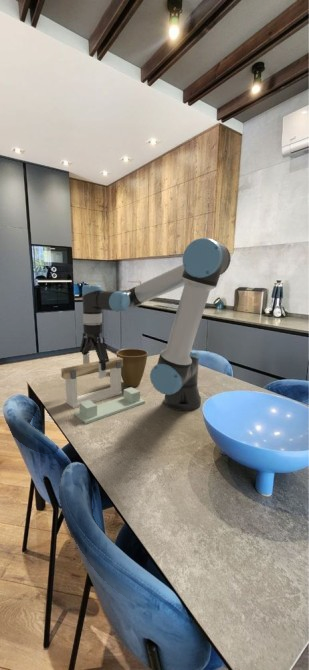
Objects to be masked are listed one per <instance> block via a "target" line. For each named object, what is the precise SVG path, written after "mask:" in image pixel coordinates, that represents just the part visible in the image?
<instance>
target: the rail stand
mask: <svg viewBox="0 0 309 670" xmlns="http://www.w3.org/2000/svg"><path fill="white" fill-rule="evenodd" d="M109 378H110V379H109V383H110V384H109V385H110V386H109V387H107V388H102V389H100V390H96V391H93V392H88V393H85V394H82V395H78V389H77V388H78V383H77V377H76V371H71V378H70V379H66V380H65V393H66V399H65V403H66V404H67V405H68V406H70V407H71V408H72V409H76V408H80V405H79V403H80V402H83V401H87V400H90V401H92V402H93V403H95V402H99V401H103V400H106V399H109V398H112V397H115V396H120V395H122V394H123V391H122V377H121V361H116V368H113V369H109Z"/></svg>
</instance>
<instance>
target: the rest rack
mask: <svg viewBox="0 0 309 670" xmlns="http://www.w3.org/2000/svg"><path fill="white" fill-rule="evenodd" d="M144 404H146V400H145V399H143V398H141V391H140V390H138V389H135V388H134V387H127V388H125V389H123V396H121V397H118V398H115V399H112V400H109V401H106V402H103V403H99V404H96V403H95V402H92V401H90V400H87V401H83V402H80V403H79V405H80V407H79V410H77V411H74V413H73V414H74V416H75V417H77V419H79V420H80V421H81V422H83V424H85V425H87V424H90V423H94V422H96V421H99V420H101V419H104V418H107V417H109V416H113V415H115V414H117V413H122V412H124V411H127V410H129V409H132V408H135V407H138V406H141V405H144Z"/></svg>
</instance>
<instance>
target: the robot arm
mask: <svg viewBox="0 0 309 670" xmlns="http://www.w3.org/2000/svg"><path fill="white" fill-rule="evenodd" d="M231 257H232V256H231V253H230V250H229V249H228V247H227V246H226V245H225V244H223V243H222V242H218V241H217V240H216V239H212V238H207V237H201V238H197V239H195V240H193V241H191V242H190V243H189V244H188V245H187V246H186V248H185V249H184V251H183V253H182V264H181V265H178V266H176V267H174V268H172V269H170V270H168V271H166V272H164V273H161V274H160V275H158V276H155V277H152V278H151V279H148V280H147V281H144V282H142V283H140V284H138V285H136V286H134V287H132V288H129V289H125V290H103V289H102V286H101V285H97V284H86V285H83V286H82V295H81V297H82V309H83V310H82V323H83V325H82V327H83V328H82V329H83V333H82V339H81V344H80V347H79V352H80V353H81V354H82V364H87V363H90V350H91V349H92V348H93V349H94V351H95V353H96V356H97V358H98V361H99V372H98V379H103V378H106V377H107V376H106V375H107V374H106V372H107V370H106V362H109V359H110V358H109V354H108V350H107V347H106V343H105V337H103V336H102V337H101V335H100V334H102V333H103V324H102V322H103V311H109V312H110V311H112V312H116V313H117V312H126V311H127V310H128V309H134V308H137V307H139V306H141V305H142V304H144V303H146V302H148V301H151V300H154V299H156V298H158V297H160V296H163V295H166V294H167V293H170V292H173V291H175V290H177V289H180V288H181V287H183V289H182V291H181V296H180V299H179V302H178V306H177V309H176V313H175V316H174V320H173V324H172V326H171V330H170V334H169V337H168V341H167V344H166V347H165V349H162V350H161V351H160V354H159V357H158V361H157V364H156V365H154V366H153V367H152V369H151V370H150V373H149V378H150V382H151V384H152V386H153V388H154V390H156V391H157V392H159V393H160V394H163V395H164V400H163V401H164V404H165V406H167V407H168V408H170V409H173V410H177V411H193V410H195V409H196V410H197V409H198V408H200V406H201V405H202V398H201V395H200V391H199V387H198V380H199V379H198V378H199V376H198V375H199V360H200V358H199V351H198V350H196V349H192V348H193V345H194V344H195V343H194V342H195V339H196V336H197V333H198V329H199V326H200V323H201V320H202V317H203V314H204V311H205V307H206V305H207V301H208V298H209V295H210V292H211V291H212V290H213V289H215V288H217V286H218V282H219V280H220V276H222V275H223V274H224V273H225V272H226V271H227V270H228V269H229V267H230V264H231Z"/></svg>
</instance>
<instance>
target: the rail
mask: <svg viewBox="0 0 309 670" xmlns="http://www.w3.org/2000/svg"><path fill="white" fill-rule="evenodd" d="M116 361H121V367H122V366H123V358H120V357H117V356H116V357H113V358H109V362H106V371H110V369H113V368H116ZM71 371H76V378H77V377H82V376H86V375H92V374H95V373H99V360H97V361H93V362H89V363H87V364H83V363H82V364H77V365H72V366H68V367H63V368H61V369H60V372H61V378H62V379H64V380H65V381H66V379H70V378H71Z"/></svg>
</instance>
